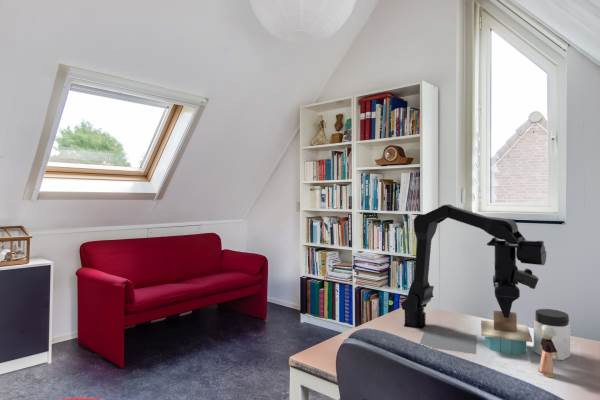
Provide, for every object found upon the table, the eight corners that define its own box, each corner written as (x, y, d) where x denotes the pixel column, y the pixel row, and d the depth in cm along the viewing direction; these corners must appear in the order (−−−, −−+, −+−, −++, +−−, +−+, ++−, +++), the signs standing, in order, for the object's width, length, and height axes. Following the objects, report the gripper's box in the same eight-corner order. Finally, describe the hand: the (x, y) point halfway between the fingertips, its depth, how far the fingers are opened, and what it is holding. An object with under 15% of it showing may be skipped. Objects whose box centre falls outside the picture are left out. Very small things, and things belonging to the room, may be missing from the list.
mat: (418, 347, 122) (418, 345, 122) (425, 330, 137) (425, 328, 137) (475, 355, 116) (475, 353, 116) (476, 336, 130) (476, 335, 130)
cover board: (481, 335, 117) (481, 316, 117) (481, 322, 129) (481, 304, 129) (532, 342, 112) (532, 322, 112) (527, 327, 124) (527, 309, 124)
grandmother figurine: (530, 368, 107) (530, 321, 107) (544, 367, 107) (544, 320, 107) (551, 382, 99) (551, 331, 99) (565, 381, 100) (565, 330, 99)
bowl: (485, 352, 118) (485, 335, 118) (484, 338, 128) (484, 323, 128) (527, 357, 113) (527, 340, 113) (524, 343, 123) (524, 327, 123)
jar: (559, 363, 110) (559, 319, 110) (529, 353, 117) (529, 312, 116) (574, 355, 115) (574, 313, 114) (544, 346, 122) (544, 306, 121)
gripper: (540, 268, 108) (540, 326, 108) (532, 257, 125) (532, 307, 125) (494, 266, 113) (495, 321, 113) (492, 255, 130) (493, 303, 130)
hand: (505, 313), depth 120 cm, fingers open, 9 cm apart
